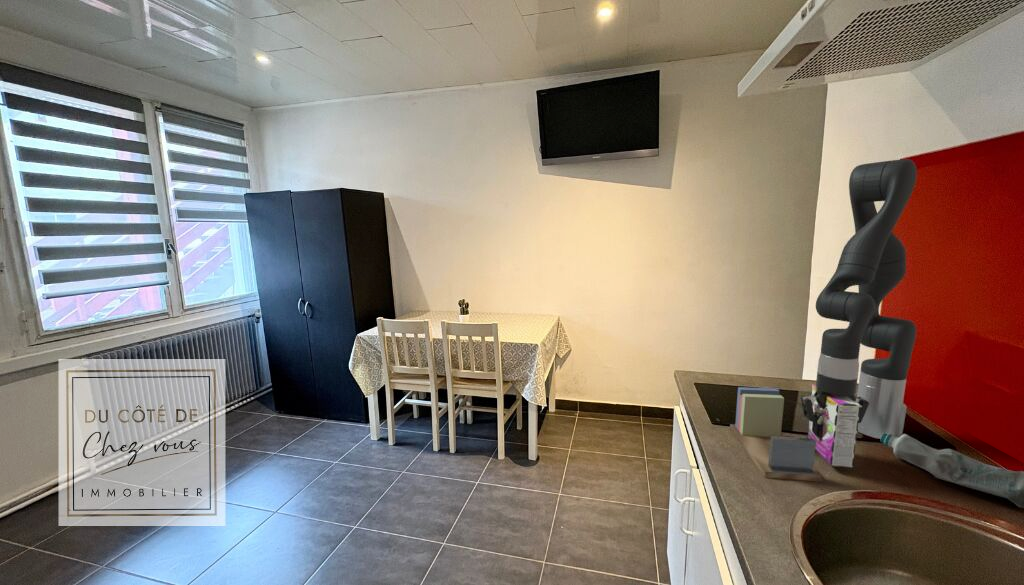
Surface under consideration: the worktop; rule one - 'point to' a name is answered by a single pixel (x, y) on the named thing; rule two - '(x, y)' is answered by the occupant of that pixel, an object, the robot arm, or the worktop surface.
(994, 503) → the worktop surface
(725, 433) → the worktop surface
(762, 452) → the shelf board
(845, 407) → the candy bar box
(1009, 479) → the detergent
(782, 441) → the bookend
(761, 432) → the row of books
